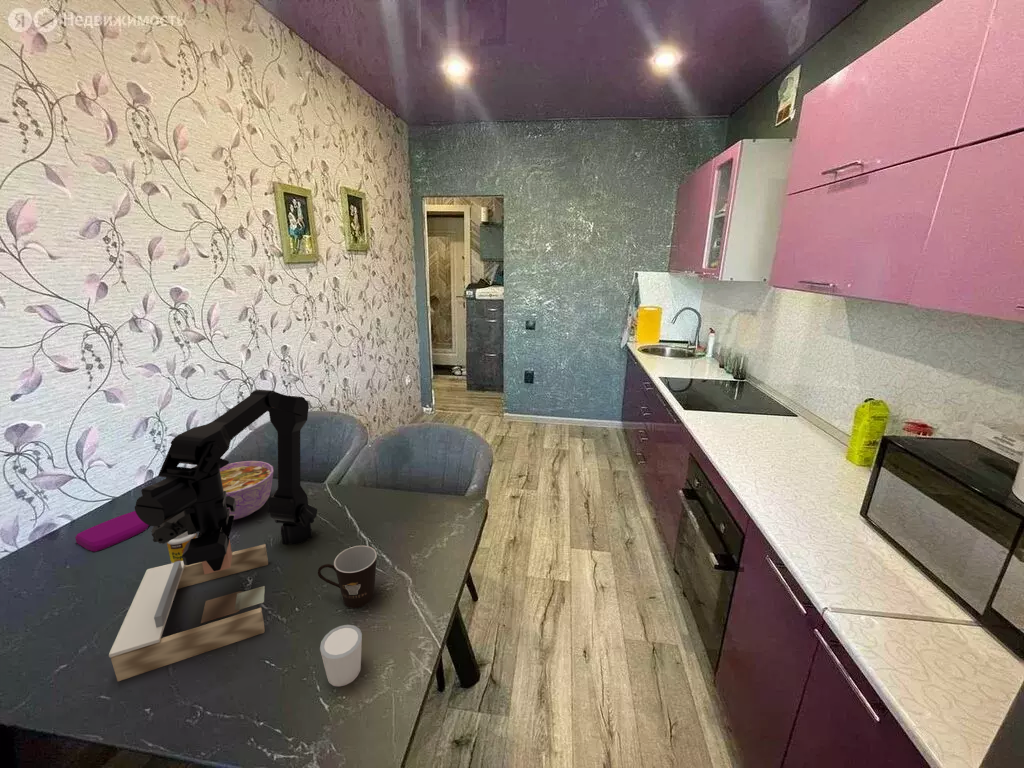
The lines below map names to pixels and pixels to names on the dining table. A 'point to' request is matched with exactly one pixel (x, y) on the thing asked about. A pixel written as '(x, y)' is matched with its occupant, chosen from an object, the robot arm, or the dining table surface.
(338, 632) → the white cylinder
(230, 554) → the coral block
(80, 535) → the spray bottle
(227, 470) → the bowl of food
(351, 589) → the coffee mug
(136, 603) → the lid
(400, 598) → the dining table surface
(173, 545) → the supplement bottle
